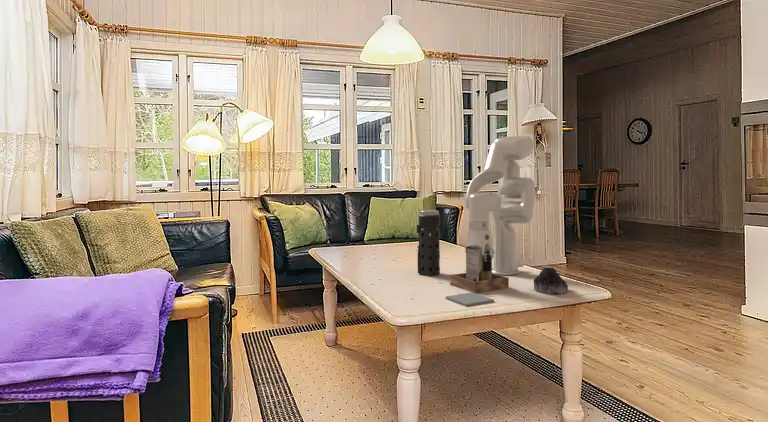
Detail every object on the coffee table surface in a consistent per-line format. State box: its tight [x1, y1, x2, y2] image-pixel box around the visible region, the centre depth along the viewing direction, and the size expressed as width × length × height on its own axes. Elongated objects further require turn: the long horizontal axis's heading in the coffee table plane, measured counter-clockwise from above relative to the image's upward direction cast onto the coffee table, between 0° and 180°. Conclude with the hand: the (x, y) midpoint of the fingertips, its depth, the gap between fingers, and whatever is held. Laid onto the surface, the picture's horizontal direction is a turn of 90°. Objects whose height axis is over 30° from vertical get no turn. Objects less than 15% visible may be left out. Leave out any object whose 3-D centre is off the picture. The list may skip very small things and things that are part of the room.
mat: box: [445, 292, 495, 307], centre depth 177 cm, size 12×12×1 cm
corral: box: [449, 272, 510, 294], centre depth 198 cm, size 16×16×4 cm
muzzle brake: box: [416, 209, 441, 277], centre depth 222 cm, size 10×28×10 cm
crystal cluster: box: [533, 267, 569, 295], centre depth 190 cm, size 13×14×10 cm
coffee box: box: [465, 246, 493, 282], centre depth 198 cm, size 9×6×16 cm
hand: (478, 269), depth 198 cm, fingers open, 9 cm apart
